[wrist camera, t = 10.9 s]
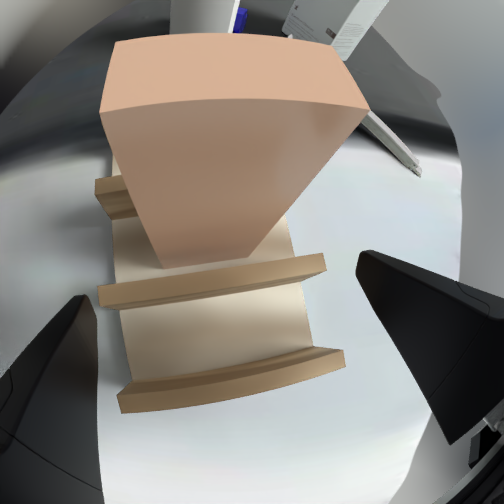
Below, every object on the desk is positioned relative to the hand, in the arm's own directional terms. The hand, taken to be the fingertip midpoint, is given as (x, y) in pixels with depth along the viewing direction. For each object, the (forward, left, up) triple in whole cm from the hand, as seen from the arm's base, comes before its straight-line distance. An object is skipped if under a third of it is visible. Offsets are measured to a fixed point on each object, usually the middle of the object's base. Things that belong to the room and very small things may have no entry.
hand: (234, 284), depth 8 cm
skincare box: (+32, +13, -11) cm, 36 cm away
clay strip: (+2, +3, -9) cm, 10 cm away
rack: (+3, +3, -10) cm, 11 cm away
